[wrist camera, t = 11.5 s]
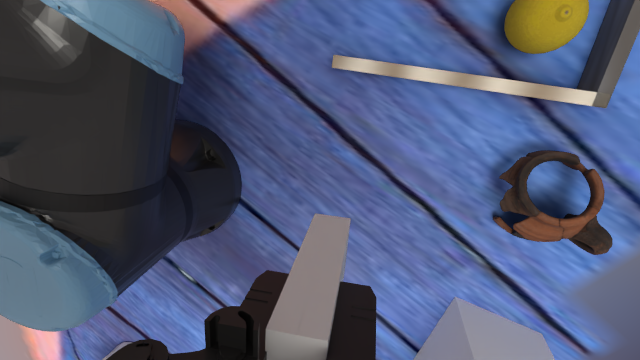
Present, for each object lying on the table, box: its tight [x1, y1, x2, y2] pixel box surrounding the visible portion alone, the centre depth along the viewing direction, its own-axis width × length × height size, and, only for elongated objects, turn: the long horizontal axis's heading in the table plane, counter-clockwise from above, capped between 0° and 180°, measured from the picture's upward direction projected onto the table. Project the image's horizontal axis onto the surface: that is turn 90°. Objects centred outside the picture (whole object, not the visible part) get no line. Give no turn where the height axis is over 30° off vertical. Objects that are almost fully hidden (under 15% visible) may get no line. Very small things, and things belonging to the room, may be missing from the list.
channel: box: [332, 0, 640, 108], centre depth 31 cm, size 25×13×4 cm, turn 82°
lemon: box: [504, 0, 589, 54], centre depth 28 cm, size 6×6×8 cm
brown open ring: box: [493, 150, 612, 255], centre depth 35 cm, size 12×10×8 cm
